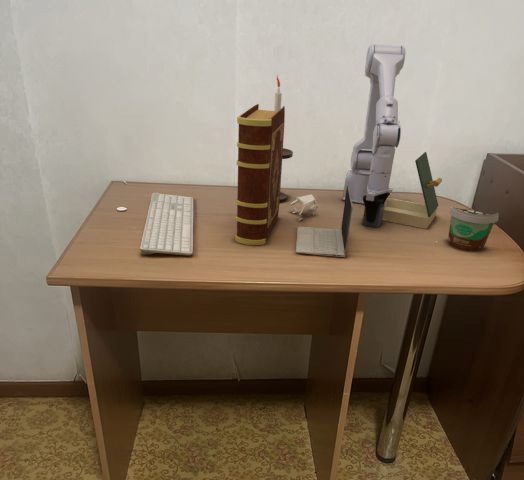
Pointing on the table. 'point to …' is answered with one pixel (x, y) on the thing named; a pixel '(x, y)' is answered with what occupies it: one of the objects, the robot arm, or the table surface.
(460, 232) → the food container
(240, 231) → the decorative book
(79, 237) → the table surface
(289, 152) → the candlestick
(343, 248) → the laptop
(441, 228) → the table surface
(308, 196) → the origami figure
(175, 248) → the keyboard
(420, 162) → the box lid
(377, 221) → the block
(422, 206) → the tan tray
